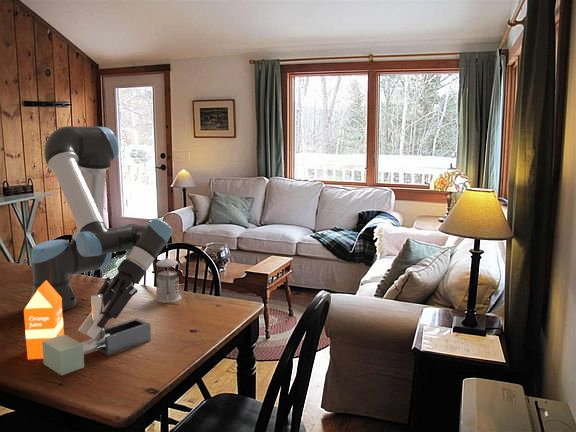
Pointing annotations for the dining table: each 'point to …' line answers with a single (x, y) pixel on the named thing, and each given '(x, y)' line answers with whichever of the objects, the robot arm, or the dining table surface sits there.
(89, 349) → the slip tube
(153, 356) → the dining table surface
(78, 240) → the robot arm
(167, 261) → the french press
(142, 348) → the dining table surface
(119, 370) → the dining table surface
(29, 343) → the orange juice
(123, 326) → the gray open box
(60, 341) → the grey-green block
